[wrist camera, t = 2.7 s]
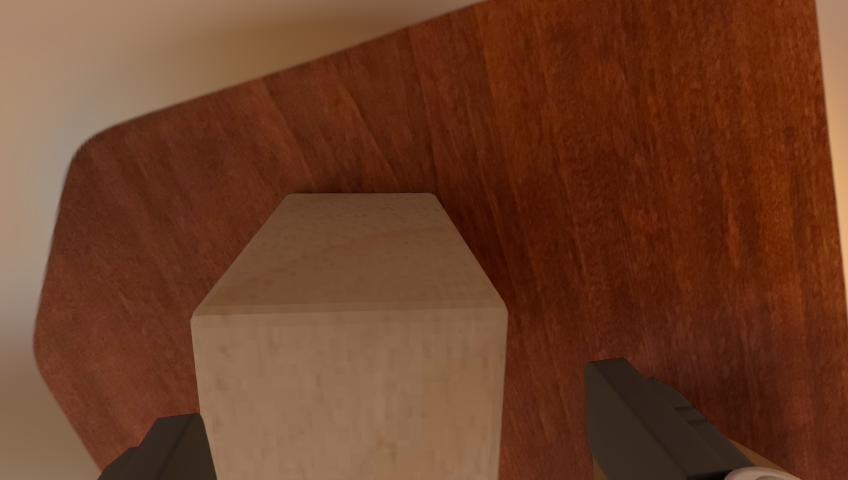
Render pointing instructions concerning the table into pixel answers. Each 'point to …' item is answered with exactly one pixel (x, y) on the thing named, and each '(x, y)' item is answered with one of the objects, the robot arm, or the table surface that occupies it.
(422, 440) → the wooden block
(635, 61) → the table surface
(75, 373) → the table surface
